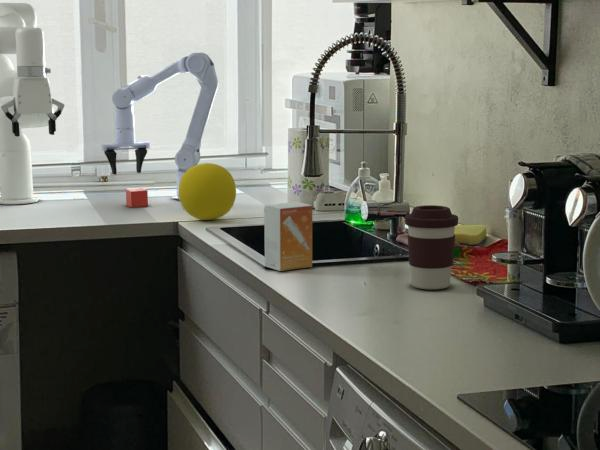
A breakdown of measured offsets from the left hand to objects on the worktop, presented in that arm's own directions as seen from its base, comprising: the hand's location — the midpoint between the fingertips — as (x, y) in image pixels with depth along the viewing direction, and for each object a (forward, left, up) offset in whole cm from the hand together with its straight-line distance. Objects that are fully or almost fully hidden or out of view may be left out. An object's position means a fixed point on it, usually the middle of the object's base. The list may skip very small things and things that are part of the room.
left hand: (34, 135), depth 290 cm
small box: (+105, +15, -22) cm, 108 cm away
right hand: (-10, +32, -14) cm, 36 cm away
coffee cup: (+135, +26, -22) cm, 140 cm away
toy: (+41, +32, -22) cm, 56 cm away
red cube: (+5, +28, -22) cm, 36 cm away
